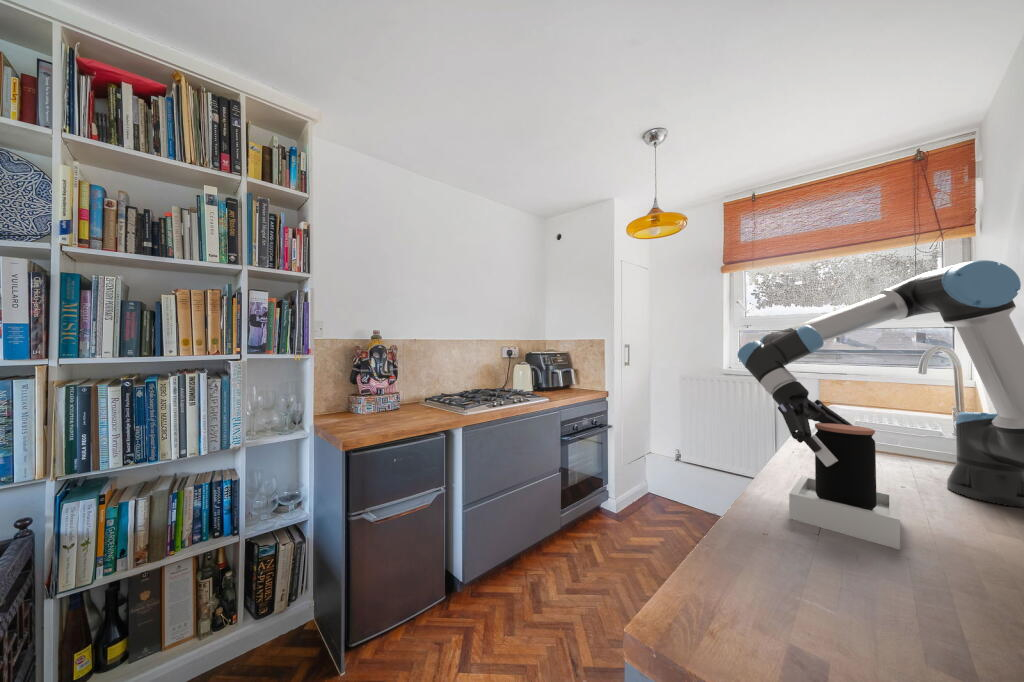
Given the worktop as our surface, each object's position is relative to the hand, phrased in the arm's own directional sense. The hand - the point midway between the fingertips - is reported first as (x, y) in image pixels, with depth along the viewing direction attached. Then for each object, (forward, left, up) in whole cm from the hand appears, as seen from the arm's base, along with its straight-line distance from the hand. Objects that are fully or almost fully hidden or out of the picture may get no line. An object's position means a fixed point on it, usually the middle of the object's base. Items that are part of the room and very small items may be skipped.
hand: (851, 461), depth 85 cm
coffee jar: (+1, -1, -11) cm, 11 cm away
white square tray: (+1, -1, -15) cm, 15 cm away
